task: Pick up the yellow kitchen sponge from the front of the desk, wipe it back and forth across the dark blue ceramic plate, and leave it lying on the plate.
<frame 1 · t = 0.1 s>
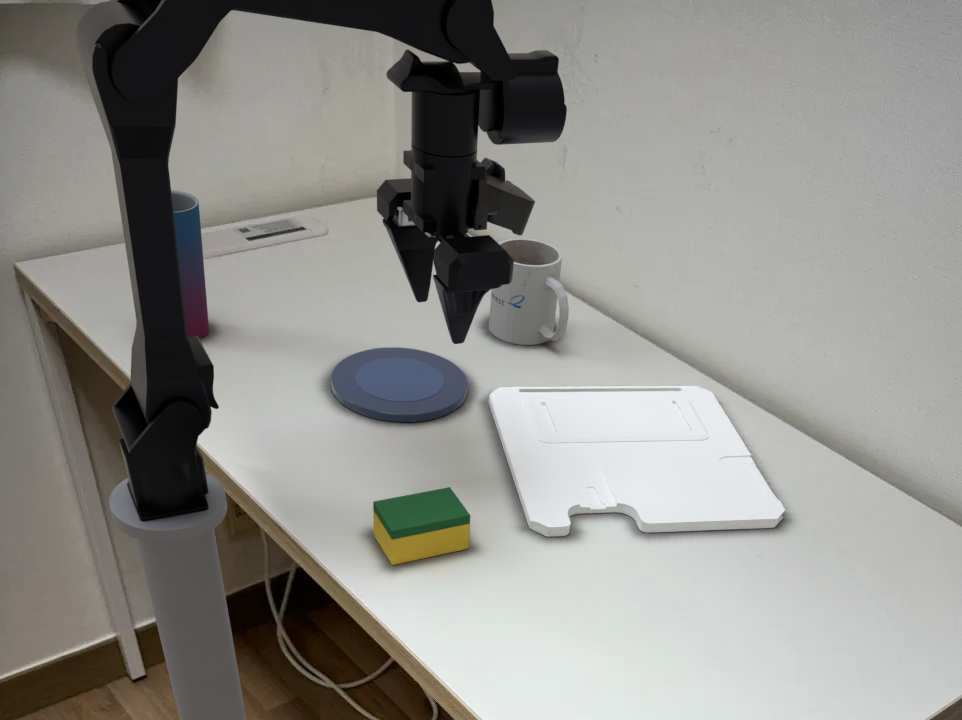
hand: (439, 321, 96), 15 cm above the table, tool pointing down, fingers open, 9 cm apart
mug: (527, 337, 129), on the table
sponge: (421, 542, 96), on the table
tray: (628, 459, 111), on the table
plate: (399, 387, 116), on the table
cup: (188, 332, 120), on the table
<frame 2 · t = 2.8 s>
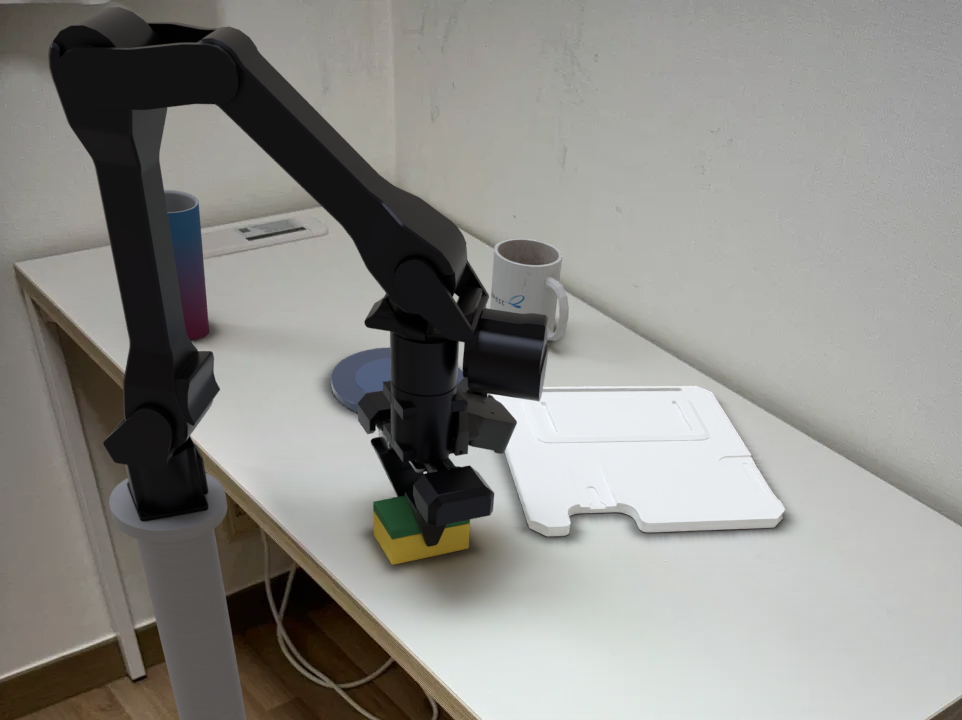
hand: (421, 529, 95), 2 cm above the table, tool pointing down, fingers closed on sponge, 5 cm apart
sponge: (421, 542, 96), on the table, touching gripper
everything else where it was.
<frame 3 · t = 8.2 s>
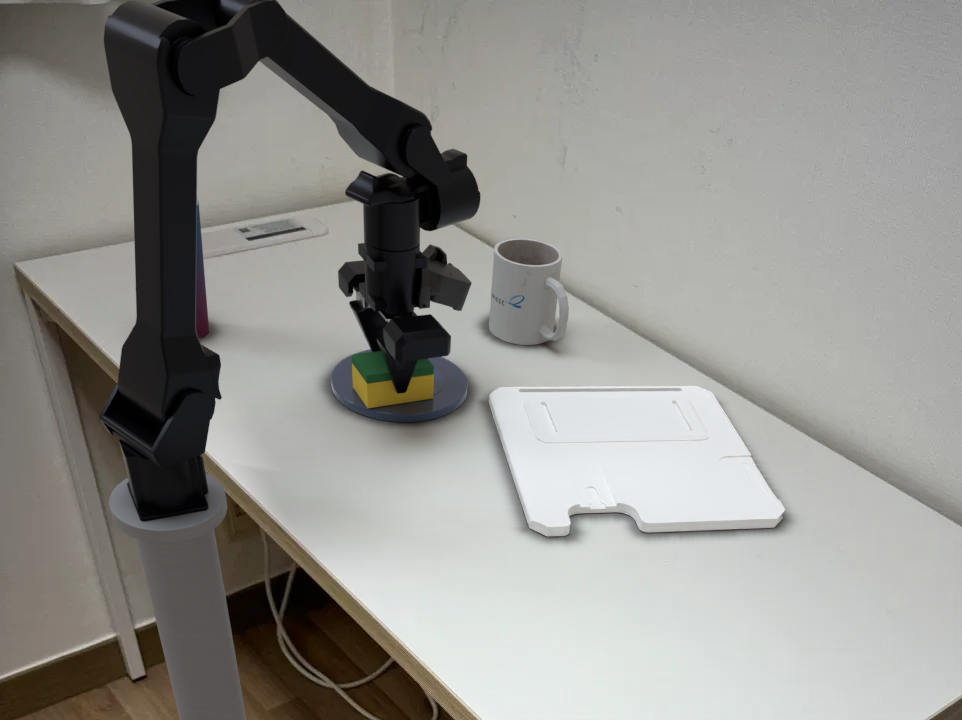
hand: (392, 381, 112), 3 cm above the table, tool pointing down, fingers closed on sponge, 5 cm apart
sponge: (393, 393, 113), point 1 cm above the table, touching gripper
everything else where it was.
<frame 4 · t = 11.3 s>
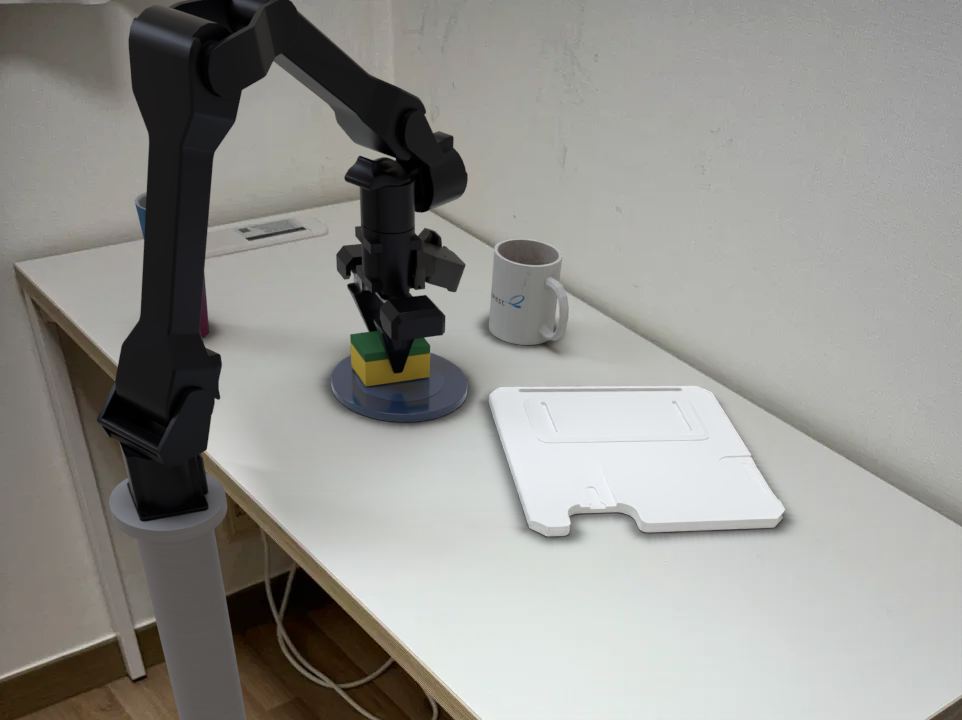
hand: (389, 361, 115), 2 cm above the table, tool pointing down, fingers closed on sponge, 5 cm apart
sponge: (390, 371, 116), point 1 cm above the table, touching gripper
everything else where it was.
when the fingers open (2 cm above the table, at t = 13.6 s): sponge stays where it is, resting on plate.
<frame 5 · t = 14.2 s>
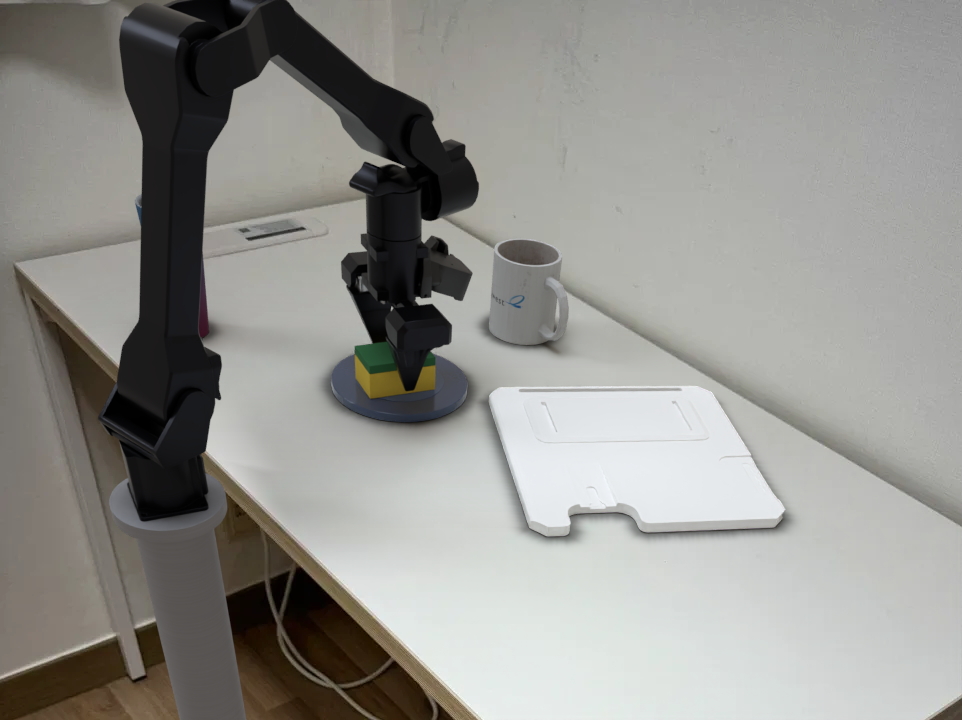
hand: (394, 371, 113), 3 cm above the table, tool pointing down, fingers open, 9 cm apart
sponge: (395, 383, 115), point 1 cm above the table, touching plate
everything else where it was.
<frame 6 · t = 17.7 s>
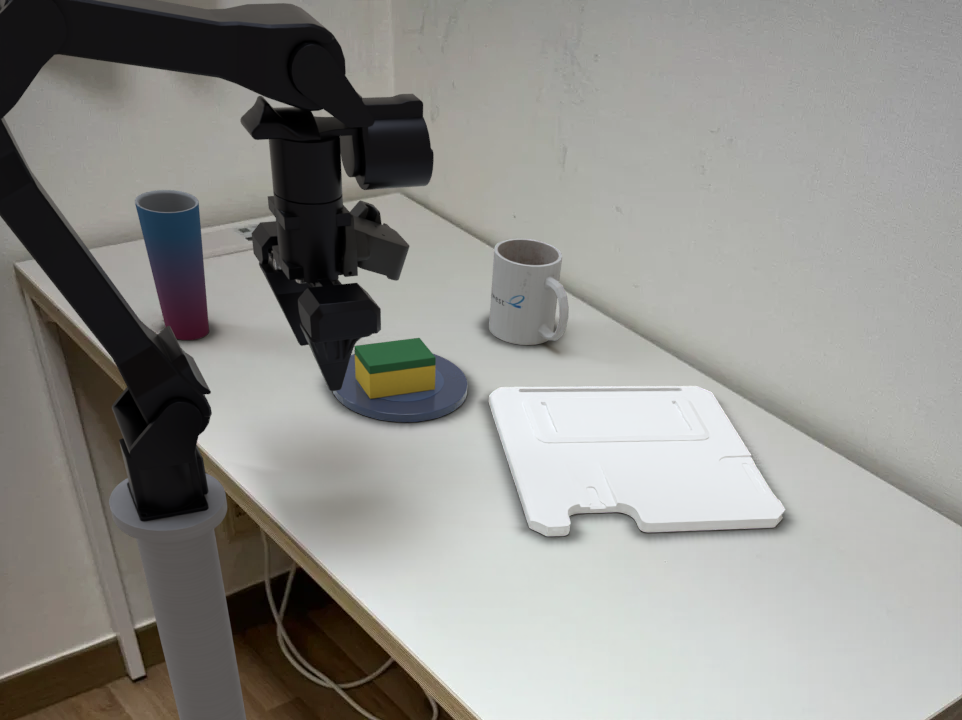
hand: (319, 366, 94), 12 cm above the table, tool pointing down, fingers open, 9 cm apart
nothing on the table moved.
at the end: sponge inside the target area on the plate (1.4 cm from its centre), point 1.0 cm above the plate's base; sponge moved 29.2 cm from its start; the gripper is holding nothing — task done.
